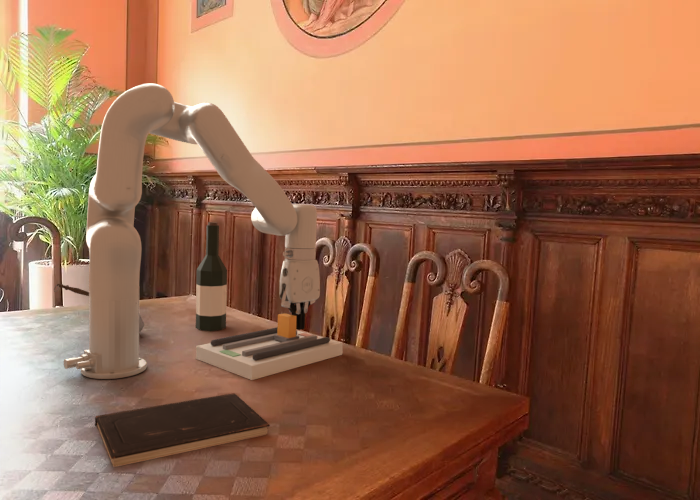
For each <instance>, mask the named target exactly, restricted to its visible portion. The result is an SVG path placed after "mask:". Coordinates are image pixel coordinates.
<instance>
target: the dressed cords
mask: <svg viewBox="0 0 700 500" xmlns="http://www.w3.org/2000/svg"><path fill="white" fill-rule="evenodd" d="M277 328H278V326H277V327H272V328H267V329H262V330H255V331H252V332H247V333H242V334H237V335H232V336H230V335H229V336H225V337H221V338H216V339H212V340H211V341H210V343H211V345H212V346H216V345H221V344H226V343H231V342H236V341H240V340H245V339H250V338H255V337H260V336H265V335H270V334H274V333H277ZM329 341H330V336H324V338H320V339H316V340H311V341H307V342H303V343H299V344H294V345H290V346H286V347H282V348H278V349H273V350H269V351H265V352H261V353H256V354H254V355H253V357H252V358H253V360H260V359H264V358H268V357H272V356H276V355H280V354H284V353H288V352H292V351H296V350H300V349H304V348H308V347H312V346H316V345H320V344H324V343H328V342H329Z"/></svg>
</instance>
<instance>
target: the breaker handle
mask: <svg viewBox="0 0 700 500" xmlns="http://www.w3.org/2000/svg"><path fill="white" fill-rule="evenodd" d="M296 317H297V316H294V315H292V314H289V313H279V314H277V327H278V328H277V335H274V339H275V340H278V341H282V342H285V341H289V340H294V339H298V338H299V336H297V335H296V330H297V329H296Z"/></svg>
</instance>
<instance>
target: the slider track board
mask: <svg viewBox="0 0 700 500" xmlns="http://www.w3.org/2000/svg"><path fill="white" fill-rule="evenodd" d="M274 335H277V333H274V334H270V335H265V336H260V337H255V338H250V339H245V340H240V341H236V342H231V343H226V344H221V345H216V346H212V345H211V342H209V343H204V344H200V345H199V344H198V345H195V346H196V347H195V360H198V361H201V362H203V363H206V364H209V365H211V366H214V367H216V368H219V369H222V370H223V371H224V370H225V371H227V372H229V373H232V374H235V375H238V376H240V377H242V378H245V379H248V380H251V381H253V380H254V381H255V380H257V379H261V378H264V377H267V376H271V375H272V376H273V375H274V374H275V375H276V374H279V373H282V372H285V371H289V370H293V369H297V368H299V367H303V366H306V365H307V366H308V365H310V364H315V363H318V362H322V361H326V360H327V359H332V358H335V357H338V356H342V355H343V350H344V349H343V346H344V343H343V342H342V341H338V340H335V339H330V341H329V342H328V343H324V344H320V345H316V346H312V347H308V348H304V349H300V350H296V351H292V352H288V353H284V354H280V355H276V356H272V357H268V358H264V359H260V360H253V358H252V357H253V355H254V354H256V353H261V352H265V351H269V350H273V349H278V348H282V347H286V346H290V345H294V344H299V343H303V342H307V341H311V340H316V339H320V338H324V337H325V336H324V337H323V336H320V335H315V334H312V333H308V332H304V331H302V330H297V329H296V335H297V336H299V338H298V339H294V340H289V341H285V342H282V341H278V340H275V339H274Z"/></svg>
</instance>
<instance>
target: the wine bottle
mask: <svg viewBox="0 0 700 500" xmlns="http://www.w3.org/2000/svg"><path fill="white" fill-rule="evenodd" d="M205 232H206V233H205V234H206V235H205V236H206V239H205V240H206V243H205V245H206V246H205V256H204V257H203V259H202V261H201V262H200V264H199V265H198V267H197V268H196V281H195V284H196V285H195V286H196V287H195V289H196V290H195V291H196V293H195V294H196V295H195V329H197V330H198V331H205V332H215V331H222V330H224V329H226V328H227V294H228V293H227V292H228V291H227V290H228V286H227V285H228V269H227V267H226V265H225V264H224V262H223V260H222V259H221V257H220V255H219V246H220V245H219V243H220V240H219V239H220V225H218V222H217V221H208V222H207V224H206V231H205Z"/></svg>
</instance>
